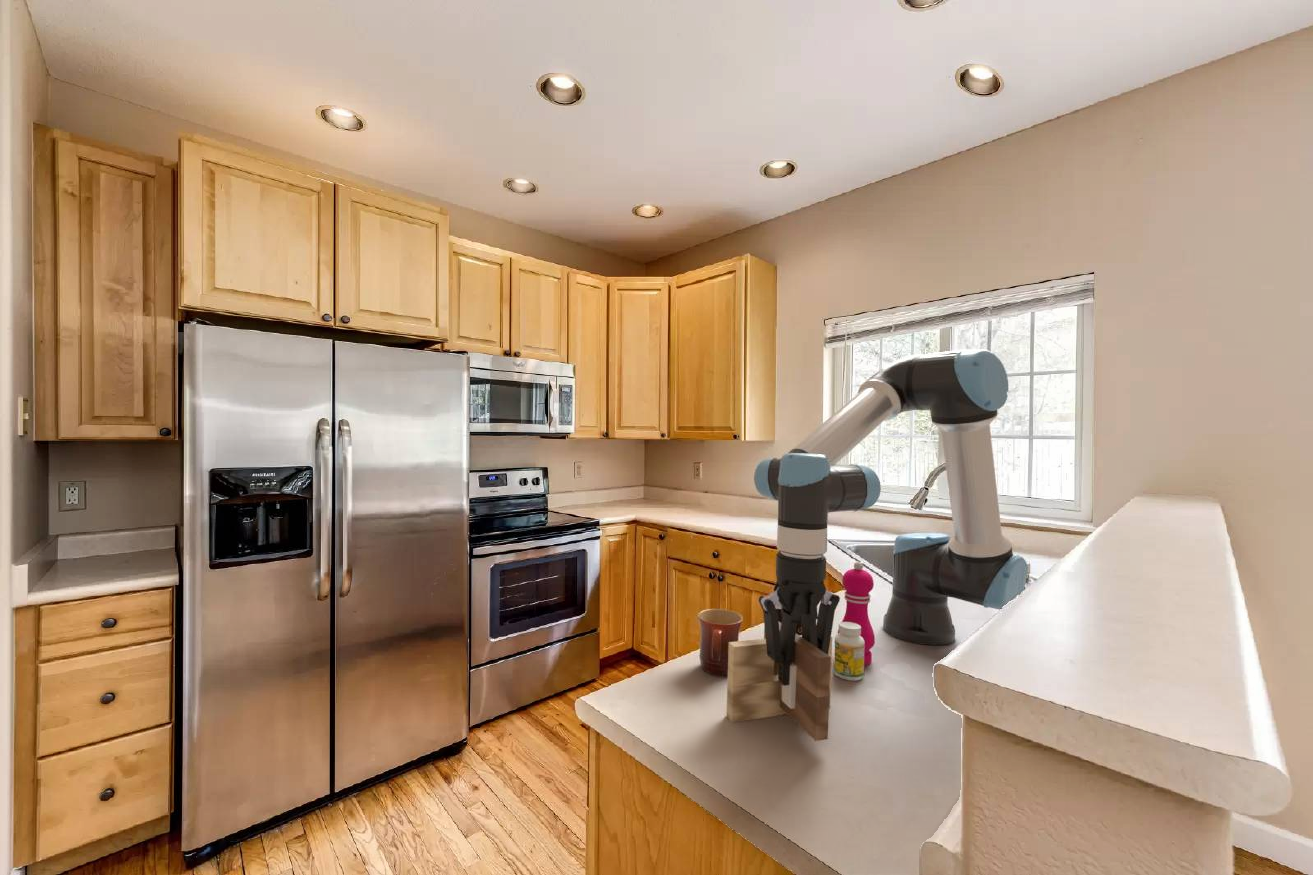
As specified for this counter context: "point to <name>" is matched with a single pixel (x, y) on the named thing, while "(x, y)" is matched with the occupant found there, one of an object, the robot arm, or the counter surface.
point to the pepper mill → (859, 604)
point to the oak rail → (754, 681)
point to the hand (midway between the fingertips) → (796, 702)
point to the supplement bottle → (849, 652)
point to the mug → (717, 638)
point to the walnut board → (809, 688)
